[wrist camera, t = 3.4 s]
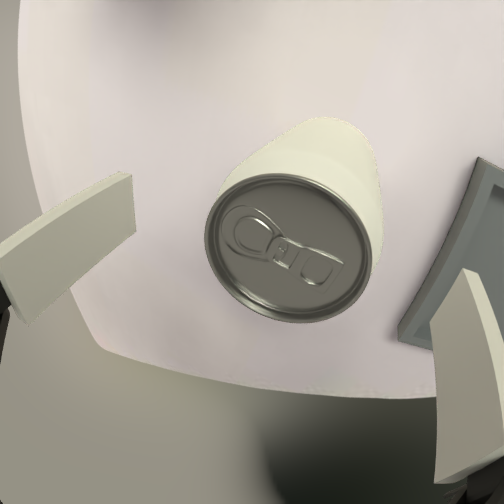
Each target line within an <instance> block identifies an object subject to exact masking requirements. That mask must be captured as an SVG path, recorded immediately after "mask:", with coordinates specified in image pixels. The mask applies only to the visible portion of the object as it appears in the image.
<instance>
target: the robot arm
mask: <svg viewBox="0 0 504 504" xmlns="http://www.w3.org/2000/svg"><path fill="white" fill-rule="evenodd" d="M135 232H136V224H135V213H134V200H133V185H132V174H128V173H123V172H117V173H115V174H113V175H111V176H109V177H107V178H105V179H104V180H102V181H100V182H98V183H96V184H94V185H92V186H90V187H89V188H87V189H85V190H83V191H81V192H80V193H78V194H76V195H74V196H73V197H71V198H69V199H68V200H66V201H64V202H62V203H61V204H59V205H57V206H56V207H54V208H53V209H51V210H49V211H48V212H46V213H45V214H43V215H42V216H40V217H38V218H37V219H35V220H34V221H32V222H31V223H29V224H28V225H26V226H25V227H23V228H22V229H20V230H19V231H17V232H16V233H14V234H13V235H12V236H10V237H9V238H7V239H6V240H5V241H3V242H2V243H0V362H1V356H2V351H3V345H4V340H5V336H6V330H7V327H8V322H9V318H10V312H9V310H8V307H9V306H10V305H12V307H13V309H14V311H15V313H16V315H17V316H18V318H20V319H21V320H22V321H23V322H24V323H25V324H26V325H28V326H29V325H30V324H31V323H33V322H34V321H35V320H36V319H37V317H39V315H41V314H42V313H43V312H44V311H45V310H46V309H47V308H48V307H49V306H50V305H51V304H52V303H53V302H54V301H55V300H56V299H57V298H59V297H60V296H61V295H62V294H63V293H64V292H65V291H66V290H67V289H68V288H70V287H71V286H72V285H73V284H74V283H75V282H76V281H77V280H78V279H80V278H81V277H82V276H83V275H84V274H85V273H86V272H88V271H89V270H90V269H91V268H92V267H93V266H95V265H96V264H97V263H98V262H99V261H100V260H102V259H103V258H104V257H105V256H106V255H108V254H109V253H110V252H111V251H112V250H114V249H115V248H116V247H117V246H119V245H120V244H121V243H122V242H123V241H125V240H126V239H127V238H128V237H130V236H131V235H132V234H134V233H135ZM430 329H431V337H432V345H433V354H434V364H435V377H436V394H437V450H436V467H435V479H434V483H455V482H457V481H459V480H461V479H463V478H465V477H467V476H468V480H467V484H466V485H463V486H461V487H459V488H457V489H454V490H452V491H450V492H447V493H446V494H445V495H444V496H443V498H447V497H450V496H452V495H455V496H454V497H453V498H452V499H450V500H448V501H447V502H448V504H504V342H503V339H502V336H501V332H500V329H499V326H498V323H497V321H496V318H495V315H494V312H493V309H492V307H491V304H490V301H489V299H488V296H487V294H486V291H485V289H484V286H483V284H482V282H481V279H480V277H479V275H478V273H475V272H473V271H470V270H467V269H465V268H462V270H461V272H460V273H459V275H458V277H457V279H456V280H455V282H454V284H453V286H452V287H451V289H450V291H449V292H448V294H447V296H446V297H445V299H444V300H443V302H442V304H441V305H440V307H439V308H438V310H437V311H436V313H435V315H434V316H433V318H432V319H431V321H430ZM0 504H3V503H2V502H1V501H0Z"/></svg>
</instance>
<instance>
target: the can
mask: <svg viewBox="0 0 504 504" xmlns="http://www.w3.org/2000/svg"><path fill="white" fill-rule="evenodd" d="M383 236H384V226H383V211H382V202H381V193H380V186H379V179H378V172H377V166H376V161H375V157H374V153H373V150H372V148H371V146H370V144H369V142H368V140H367V139H366V138H365V136H364V135H363V134H362V133H361V132H360V131H359V130H358V129H357V128H355V127H354V126H353V125H351V124H349V123H347V122H345V121H343V120H340V119H337V118H331V117H318V118H313V119H310V120H307V121H304V122H302V123H300V124H299V125H297V126H295V127H294V128H292V129H290V130H289V131H287V132H286V133H284V134H282V135H281V136H279V137H278V138H276V139H275V140H273V141H272V142H270V143H269V144H267V145H266V146H264V147H263V148H261V149H260V150H258V151H257V152H255V153H254V154H253V155H251V156H250V157H248V158H247V159H246V160H244V161H243V162H242V163H241V164H240V165H238V166H237V167H236V168H235V169H234V170H233V171H232V173H231V174H230V175H229V176H228V177H227V179H226V180H225V181H224V183H223V185H222V186H221V188H220V191H219V193H218V196H217V199H216V202H215V203H214V205H213V206H212V208H211V210H210V212H209V215H208V218H207V221H206V225H205V233H204V242H205V250H206V254H207V258H208V261H209V263H210V266H211V268H212V270H213V272H214V274H215V275H216V277H217V279H218V280H219V282H220V283H221V284H222V285H223V287H224V288H225V289H226V290H227V291H228V292H229V293H230V294H231V295H232V296H233V297H234V298H235V299H236V300H238V301H239V302H240V303H241V304H243V305H244V306H246V307H247V308H249V309H251V310H252V311H254V312H256V313H258V314H261V315H263V316H265V317H268V318H271V319H274V320H278V321H283V322H289V323H313V322H319V321H323V320H326V319H329V318H332V317H334V316H336V315H338V314H340V313H342V312H344V311H345V310H346V309H348V308H349V307H350V306H352V305H353V304H354V303H355V302H356V301H357V299H358V298H359V297H360V296H361V294H362V293H363V291H364V290H365V288H366V286H367V283H368V281H369V278H370V275H371V274H372V272H373V271H374V269H375V267H376V265H377V263H378V261H379V258H380V255H381V251H382V245H383Z"/></svg>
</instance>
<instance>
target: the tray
mask: <svg viewBox="0 0 504 504" xmlns="http://www.w3.org/2000/svg"><path fill="white" fill-rule="evenodd" d="M462 268H465V269H467V270H470V271H473V272H475V273H478V275H479V277H480V279H481V282H482V284H483V286H484V289H485V291H486V294H487V296H488V299H489V301H490V304H491V307H492V309H493V312H494V315H495V318H496V321H497V323H498V326H499V329H500V332H501V336H502V339H503V342H504V170H503V169H501V168H499V167H497V166H495V165H494V164H492V163H490V162H488V161H486V160H484V159H482V158H480V157H478V159H477V162H476V165H475V168H474V171H473V174H472V177H471V179H470V182H469V185H468V188H467V190H466V193H465V196H464V198H463V201H462V203H461V206H460V208H459V211H458V213H457V215H456V218H455V220H454V222H453V225H452V227H451V229H450V231H449V234H448V236H447V238H446V240H445V242H444V244H443V246H442V248H441V250H440V252H439V255H438V257H437V259H436V260H435V262H434V264H433V266H432V268H431V270H430V272H429V274H428V276H427V278H426V280H425V281H424V283H423V285H422V287H421V289H420V290H419V292H418V294H417V296H416V297H415V299H414V301H413V302H412V304H411V306H410V307H409V309H408V311H407V312H406V314H405V316H404V317H403V319H402V321H401V322H400V324H399V325H398V341H400V342H403V343H407V344H411V345H414V346H418V347H422V348H426V349H429V350H433V345H432V337H431V329H430V321H431V319H432V318H433V316H434V315H435V313H436V311H437V310H438V308H439V307H440V305H441V304H442V302H443V300H444V299H445V297H446V296H447V294H448V292H449V291H450V289H451V287H452V286H453V284H454V282H455V280H456V279H457V277H458V275H459V273H460V272H461V270H462Z"/></svg>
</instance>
